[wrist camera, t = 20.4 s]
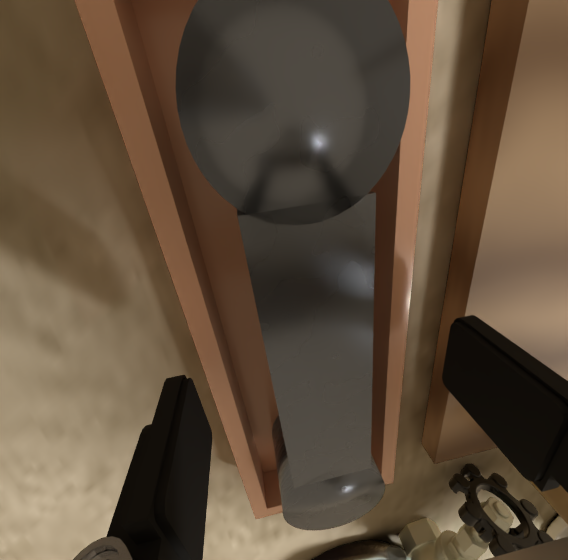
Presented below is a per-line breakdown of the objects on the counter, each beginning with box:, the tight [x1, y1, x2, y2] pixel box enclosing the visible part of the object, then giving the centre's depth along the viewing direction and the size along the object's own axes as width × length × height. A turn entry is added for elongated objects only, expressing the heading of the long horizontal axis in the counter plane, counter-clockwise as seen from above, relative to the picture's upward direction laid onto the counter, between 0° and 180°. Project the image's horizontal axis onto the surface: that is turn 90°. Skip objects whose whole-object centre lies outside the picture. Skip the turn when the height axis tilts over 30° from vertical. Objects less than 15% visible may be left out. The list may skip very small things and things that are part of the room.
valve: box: [399, 464, 554, 560], centre depth 23 cm, size 7×7×12 cm
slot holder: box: [75, 0, 438, 519], centre depth 12 cm, size 25×9×3 cm, turn 7°
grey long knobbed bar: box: [175, 0, 410, 530], centre depth 11 cm, size 21×5×4 cm, turn 7°
